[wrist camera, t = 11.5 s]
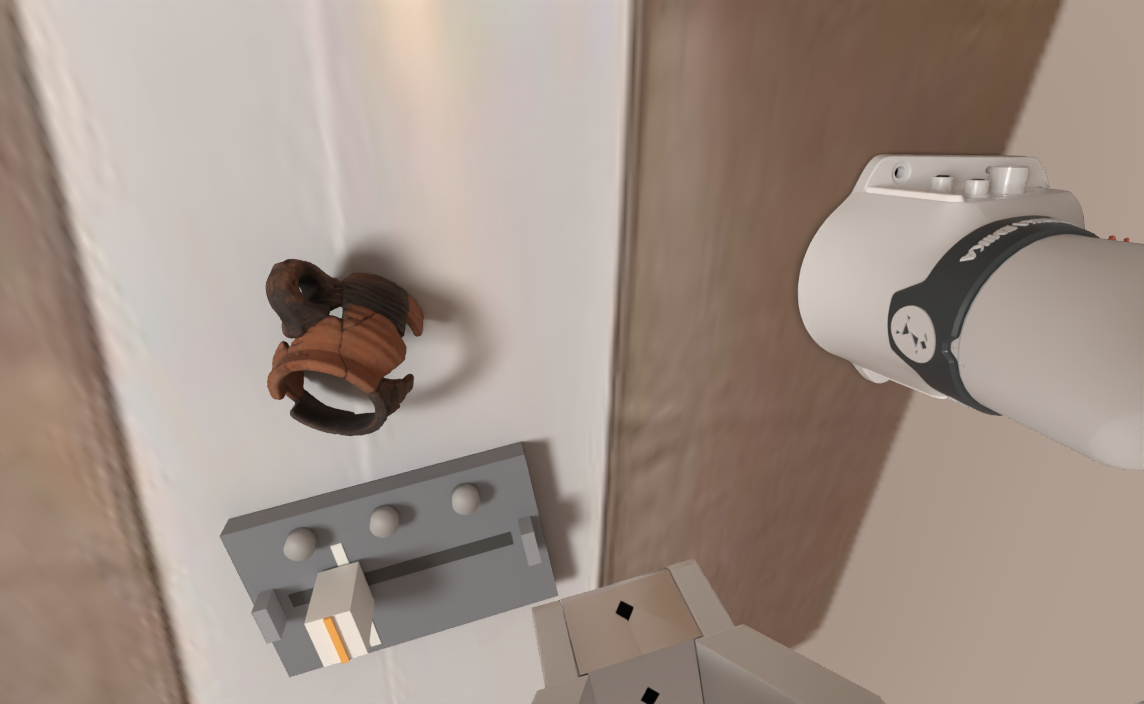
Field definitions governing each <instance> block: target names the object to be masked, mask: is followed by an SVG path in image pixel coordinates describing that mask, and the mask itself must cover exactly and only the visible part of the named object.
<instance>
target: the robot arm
mask: <svg viewBox="0 0 1144 704" xmlns="http://www.w3.org/2000/svg"><path fill="white" fill-rule="evenodd" d="M896 168H898V173H897V175H896V176H895V170H896ZM798 302H799V309H800V313H801V317H802V320H803V323H804V325H805V327H806V329H807V331H808V332H809V334H810V335H811V337H812V338H813V339H814V340H815V342H816V343H817V344H818V345H820V346H821V347H822V348H823V349H825V350H826V351H828V352H830V353H832V354H834V355H836V356H839V357H841V358H844V359H846V360H848V361H850V362H851V363H852V364H853V365H854V366H855V368H856V369H857V370H858V372H859V373H860V374H861V375H862V376H863V377H864V378H866V379H867V380H870V381H872V382H875V383H883V382H886V381H888V380H892V381H895V382H897V383H900V384H902V385H905V386H907V387H910V388H912V389H915V390H917V391H920V392H922V393H925V394H927V395H930V396H933V397H935V398H940V399H946V398H948V397H949V399H951V400H953V401H955V402H957V403H959V404H961V405H963V406H965V407H968V408H969V407H971V408H973V409H976V410H978V411H980V412H983V413H986V414H990V415H997V416H1005V417H1008V418H1009V419H1011V420H1013V421H1015V422H1017V423H1019V424H1021V425H1023V426H1025V427H1027V428H1029V429H1031V430H1033V431H1035V432H1037V433H1039V434H1041V435H1043V436H1046V437H1047V438H1049V439H1051V440H1053V441H1055V442H1057V443H1060V444H1061V445H1063V446H1065V447H1068V448H1070V449H1072V450H1074V451H1076V452H1078V453H1080V454H1082V455H1084V456H1086V457H1088V458H1090V459H1092V460H1094V461H1096V462H1098V463H1100V464H1103V465H1106V466H1109V467H1114V468H1118V469H1123V470H1133V471H1134V470H1135V471H1144V244H1138V243H1130V242H1129V238H1125V239H1124V241H1116V238H1115V236H1109V239H1101V238H1099V237H1098V236H1096V235H1095V234H1094V233H1091V232H1089V231H1087V230H1085V224H1084V216H1083V212H1082V208H1081V206H1080V204H1079V202H1078V200H1077V199H1076V197H1075V196H1074V195H1073V194H1072V193H1071V192H1068V191H1064V190H1057V189H1050V188H1049V183H1048V179H1047V175H1046V172H1045V170H1044V167H1043V165H1042V163H1041V162H1040V160H1039V159H1037V158H1033V157H1027V156H1000V155H915V154H881V155H877V156H875V157H874V158H873V159H872V160H871V161H870V162H869V163H868V164H867V166H866V167H865V169H864V171H863V172H862V174H861V176H860V178H859V180H858V182H857V184H856V186H855V188H854V190H853V192H852V193H851V194H850V195H849V197H848V198H847V199H846V200H845V201H844V202H843V203H842V204H841V205H840V206H839V207H838V208H837V209H836V210H835V211H834V212H833V213H832V214H831V215H830V216H829V217H828V218H827V219H826V221H825V222H824V223H823V224H822V226H821V227H820V228H819V230H818V231H817V233H816V235H815V236H814V238H813V240H812V242H811V243H810V245H809V248H808V250H807V252H806V255H805V257H804V260H803V263H802V267H801V271H800V276H799V283H798ZM560 600H561V603H560ZM560 600H559V601H555V602H551V603H548V604H544V605H540V606H537V607H533V608H532V617H533V623H534V628H535V634H536V639H537V644H538V650H539V655H540V661H541V666H542V672H543V677H544V682H545V688H544V689H541V690H539V691H537V692H536V695H535V697H534V699H533V702H532V704H885V703H884V701H883V700H882V699H881V698H880V696H878V695H876V694H874V693H872V692H870V691H868V690H867V689H865V688H863V687H861V686H859V685H857V684H855V683H853V682H851V681H849V680H848V679H846V678H844V677H842V676H840V675H838V674H836V673H835V672H833V671H831V670H829V669H827V668H825V667H823V666H821V665H819V664H818V663H816V662H814V661H812V660H810V659H808V658H806V657H804V656H803V655H801V654H799V653H797V652H795V651H793V650H791V649H789V648H787V647H786V646H784V645H782V644H780V643H778V642H776V641H774V640H772V639H770V638H769V637H767V636H765V635H763V634H761V633H759V632H757V631H755V630H753V629H752V628H750V627H748V626H746V625H744V624H742V625H739V626H735V625H734V624H733V622H732V620H731V619H730V617H729V615H728V614H727V612H726V610H725V609H724V607H723V605H722V604H721V602H720V600H719V598H718V597H717V595H716V593H715V592H714V590H713V588H712V587H711V585H710V583H709V582H708V580H707V578H706V577H705V575H704V573H703V572H702V570H701V568H700V567H699V565H698V563H697V562H696V561H695V560H693V559H690V560H687V561H683V562H680V563H677V564H674V565H671V566H668V567H666V568H662V569H659V570H656V571H653V572H650V573H646V574H643V575H640V576H637V577H634V578H631V579H628V580H624V581H621V582H618V583H615V584H613V585H609V586H606V587H602V588H599V589H595V590H592V591H588V592H584V593H581V594H577V595H574V596H570V597H567V598H563V599H560ZM561 604H562V606H561ZM562 608H563V610H562ZM563 612H564V614H563ZM564 616H565V617H564ZM565 620H566V621H565ZM566 624H567V625H566ZM1136 704H1144V701H1141V702H1139V703H1136Z"/></svg>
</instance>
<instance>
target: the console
mask: <svg viewBox="0 0 1144 704" xmlns="http://www.w3.org/2000/svg"><path fill="white" fill-rule="evenodd" d="M220 538H221V540H222V542H223V544H224V546H225V548H226V550H227V552H228V554H229V556H230V558H231V560H232V562H233V564H234V566H235V568H236V570H237V572H238V574H239V576H240V578H241V580H242V582H243V584H244V586H245V588H246V590H247V592H248V594H249V596H250V598H251V600H252V602H253V604H254V607H253V610H252V612H251V613H252V615H253V617H254V619H255V621H256V623H257V625H258V627H259V629H260V631H261V633H262V635H263V637H264V639H265V641H266V643H267V644H268V643H271V642H272V643H273V645H274V647H275V649H276V651H277V653H278V655H279V657H280V659H281V661H282V663H283V665H284V667H285V669H286V671H287V673H288V675H289V677H292V676H295V675H298V674H302V673H305V672H308V671H312V670H315V669H318V668H321V667H324V666H323V664H322V661H321V659H320V657H319V655H318V653H317V651H316V648H315V646H314V644H313V642H312V640H311V638H310V635H309V633H308V631H307V629H306V627H305V625H304V623H305V619H306V615H307V612H308V608H309V604H310V600H311V597H312V593H313V589H314V585H315V581H316V578H317V574H318V573H319V572H323V571H326V570H330V569H334V568H337V567H341V566H344V565H348V564H351V563H355V562H358V561H359V564H360V566H361V569H362V571H363V574H364V576H365V579H366V581H367V584H368V586H369V589H370V591H371V594H372V597H373V599H374V610H373V618H372V626H371V634H370V641H369V649H368V653H371V652H374V651H377V650H381V649H384V648H387V647H391V646H394V645H397V644H400V643H404V642H407V641H410V640H414V639H417V638H420V637H423V636H427V635H430V634H433V633H437V632H440V631H443V630H446V629H450V628H453V627H456V626H460V625H463V624H466V623H470V622H473V621H476V620H479V619H483V618H486V617H489V616H493V615H496V614H499V613H502V612H506V611H509V610H512V609H516V608H519V607H522V606H526V605H529V604H532V603H535V602H539V601H542V600H545V599H549V598H552V597H555V596H558V593H557V588H556V584H555V580H554V576H553V572H552V568H551V563H550V559H549V555H548V551H547V547H546V542H545V538H544V534H543V530H542V526H541V521H540V517H539V513H538V509H537V505H536V501H535V496H534V492H533V488H532V484H531V480H530V475H529V471H528V467H527V463H526V459H525V454H524V451H523V447H522V444H521V442H519V443H515V444H511V445H507V446H503V447H500V448H496V449H492V450H488V451H485V452H481V453H477V454H473V455H470V456H466V457H462V458H458V459H454V460H451V461H447V462H443V463H439V464H436V465H432V466H428V467H424V468H421V469H417V470H413V471H409V472H405V473H402V474H398V475H394V476H390V477H387V478H383V479H379V480H375V481H371V482H368V483H364V484H360V485H356V486H353V487H349V488H345V489H341V490H338V491H334V492H330V493H326V494H322V495H319V496H315V497H311V498H307V499H304V500H300V501H296V502H292V503H289V504H285V505H281V506H277V507H273V508H270V509H266V510H262V511H258V512H255V513H251V514H247V515H243V516H239V517H236V518H232V519H229V520H228V522H227V524H226V525H225V527H224V529H223V531H222V533H221V535H220Z"/></svg>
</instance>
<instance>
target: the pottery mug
mask: <svg viewBox="0 0 1144 704" xmlns="http://www.w3.org/2000/svg"><path fill="white" fill-rule="evenodd" d="M299 287H300V289H301V290H302V293H301V291H300V289H299ZM266 294H267V298H268V301H269V303H270V305H271V307H272V308H273V309H274V311H275V312H276V313H277V314H278V316H279V317H280V319H281V321H282V331H283V334H284V335H285V336H286V337H288V338H295V340H294V341H293V342H292V344H291V346H290V347H289V345H288V343H287V342H285V341H282V342H281V343H280V344H279V346H278V348H277V350H276V352H275V354H274V357H273V362H272V366H273V367H272V371H271V372H270V374H269V376H268V381H267V383H268V385H267V387H268V389H269V392H270V394H271V396H272V397H273V398H274V399H278V400H281V399H283V398H284V396H285V394H286V395H287V396H288V397H289V398H290V399H291V400H293V401H294V402H295V405H294V407H293V408H292V410H291V411H290V415H291V417H292V418H294V419H295V420H297V421H299V422H301V423H303V424H304V425H307V426H309V427H311V428H314V429H317V430H319V431H323V432H326V433H332V434H340V435H346V436H354V435H365V434H370V433H373V432H374V431H376V430H379V428H380V427H381V426H382V425H383V424H384V422H385V421H386V420H387V416H389V415H391V414H392V413H394V412H395V411H396V410H397V409H399V408H400V405H399V404H400V403H401V402H402V401H403V400H404V399H405V396H406V395H407V393H409V392H410V391H411V390H412V388H413V383H414V376H413V374H408V375H407V376H405V377H404V378H403V379H386V378H383V377H384V376H385V375H387V374H389V373H390V372H391V371H392V370H393V369H395V368H396V367H397V366H398V365H399V364H401V363H402V362H403V361H404V360H405V355H406V345H405V343H404V341H403V340H402V337H403V336H404V332H405V328H406V327H405V324H406V323H407V324H408V325H409V327H410V328H411V330H412V331H413V333H414V335H415V336H421V334H422V332H423V313H422V311H421V309H420V307H419V306H418V304H417V303H416V301H415V300H414V299H413V298H412V297H411V296H410V295H409V294H408V293H407V292H406V291H405V290H403V289H402V288H400V287H399V286H397V285H396V284H395V283H393V282H391V281H388V280H386V279H384V278H382V277H379V276H376V275H368V274H360V273H353V274H351V275H350V276H349V277H348V278H346V279H344V280H343V281H341V282H340V281H339V280H337V279H336V278H332V277H330V276H329V275H327V274H326V273H325V272H323V271H322V270H321V269H320V268H319V267H317V266H316V265H314V264H312V263H310V262H307V261H302V260H297V259H288V260H285V261H284V262H280V263H277V264H275V265H274V266H273V268H272V271H271V273H270V275H269V277H268V279H267V282H266ZM338 307H342V308H343V314H342V319H341V318H338V317H336V316H333V315H329V313H330V311H332V310H334V309H336V308H338ZM302 370H304V371H318V372H323V373H327V374H332V375H334V376H337V377H340V378H344V379H346V380H347V381H348V382H350V383H352V384H354V385H355V386H357V387H358V388H359V389H361V390H362V391H363V392H364V393H366V394H368V396H369V398H370V399H371V401H372V402H373V404H374V406H375V413H363V414H355V413H354V412H350V411H345V410H340V409H335V408H332V407H329V406H326V405H325V404H323V403H321V402H320V401H319V400H317V399H316V398H315V397H313V396H312V395H311V394H309V393H308V392H307V391H306V390H304V387H303V384H304V373H303V371H302Z"/></svg>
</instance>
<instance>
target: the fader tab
mask: <svg viewBox="0 0 1144 704" xmlns="http://www.w3.org/2000/svg"><path fill="white" fill-rule="evenodd" d="M373 610H374V599H373V597H372V594H371V591H370V589H369V586H368V584H367V581H366V579H365V576H364V574H363V571H362V569H361V566H360V564H359V561H358V562H355V563H351V564H348V565H344V566H341V567H337V568H334V569H330V570H326V571H323V572H319V573H318V574H317V578H316V581H315V585H314V589H313V593H312V597H311V600H310V604H309V608H308V612H307V615H306V619H305V623H304V625H305V627H306V629H307V631H308V633H309V635H310V638H311V640H312V642H313V644H314V646H315V648H316V651H317V653H318V655H319V657H320V659H321V661H322V664H323V666H324V667H326V666H329V665H332V664H335V663H339V662H341V663H342V664H343V663H346V662H349V661H350V659H352V658H355V657H358V656H362V655H365V654H368V649H369V641H370V634H371V626H372V618H373Z"/></svg>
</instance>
